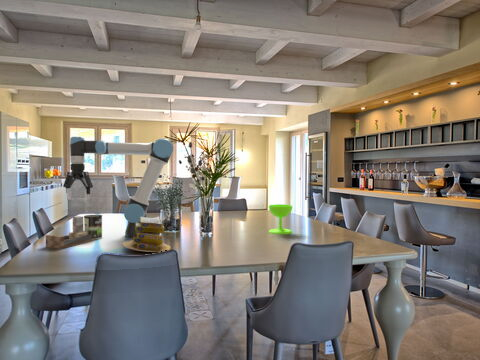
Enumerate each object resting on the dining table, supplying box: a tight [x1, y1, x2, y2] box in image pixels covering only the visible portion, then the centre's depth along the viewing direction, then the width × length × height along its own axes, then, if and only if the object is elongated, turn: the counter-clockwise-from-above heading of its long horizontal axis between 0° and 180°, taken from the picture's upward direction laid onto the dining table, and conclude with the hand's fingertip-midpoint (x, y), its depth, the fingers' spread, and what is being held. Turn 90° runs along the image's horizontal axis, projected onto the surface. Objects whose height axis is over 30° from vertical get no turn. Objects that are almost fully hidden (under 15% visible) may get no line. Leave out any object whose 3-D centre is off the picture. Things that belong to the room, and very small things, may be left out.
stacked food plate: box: [122, 216, 171, 253], centre depth 183 cm, size 25×25×17 cm
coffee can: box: [83, 214, 103, 241], centre depth 211 cm, size 10×10×14 cm
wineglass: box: [268, 203, 293, 235], centre depth 232 cm, size 16×16×18 cm
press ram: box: [68, 215, 88, 239], centre depth 200 cm, size 8×7×13 cm
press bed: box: [45, 234, 93, 250], centre depth 195 cm, size 12×21×6 cm, turn 158°
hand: (78, 199), depth 201 cm, fingers open, 13 cm apart
